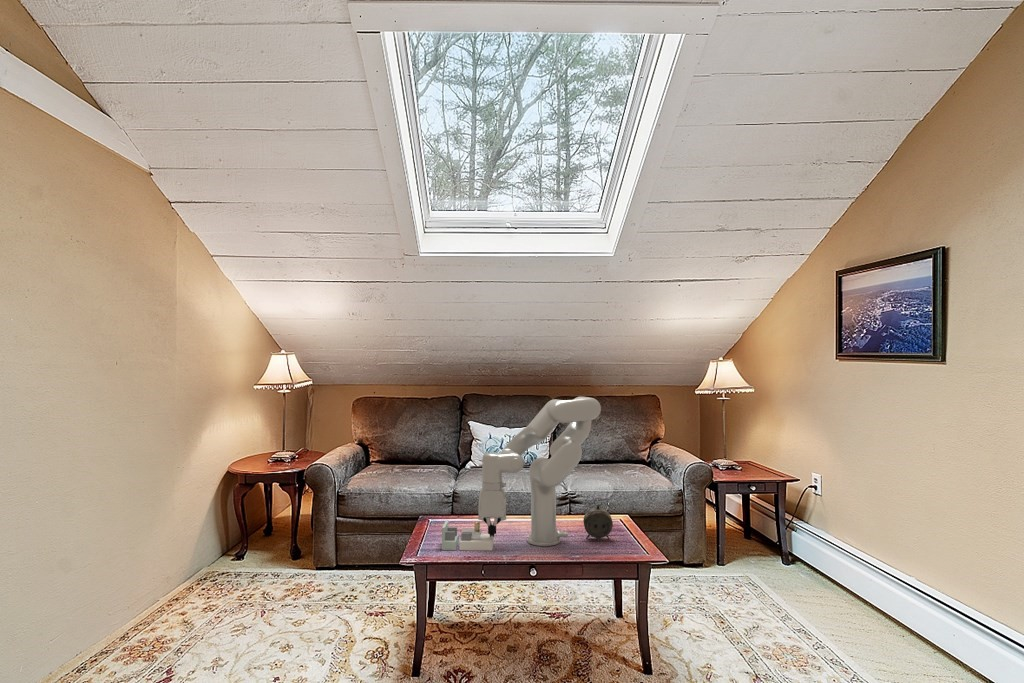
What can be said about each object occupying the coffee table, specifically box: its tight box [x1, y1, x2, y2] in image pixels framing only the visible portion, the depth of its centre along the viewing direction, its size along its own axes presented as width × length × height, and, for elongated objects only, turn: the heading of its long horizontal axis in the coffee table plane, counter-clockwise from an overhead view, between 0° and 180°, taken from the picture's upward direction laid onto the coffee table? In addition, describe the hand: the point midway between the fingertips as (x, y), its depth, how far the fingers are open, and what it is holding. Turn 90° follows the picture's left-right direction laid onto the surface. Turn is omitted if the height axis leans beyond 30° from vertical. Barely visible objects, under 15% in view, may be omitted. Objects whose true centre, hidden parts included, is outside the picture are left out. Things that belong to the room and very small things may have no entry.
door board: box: [458, 527, 495, 551], centre depth 209 cm, size 12×10×6 cm
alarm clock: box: [583, 497, 614, 543], centre depth 216 cm, size 11×5×16 cm, turn 87°
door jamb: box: [441, 520, 460, 551], centre depth 210 cm, size 5×10×8 cm, turn 178°
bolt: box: [461, 521, 482, 539], centre depth 209 cm, size 7×4×6 cm, turn 88°
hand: (492, 535), depth 209 cm, fingers closed
